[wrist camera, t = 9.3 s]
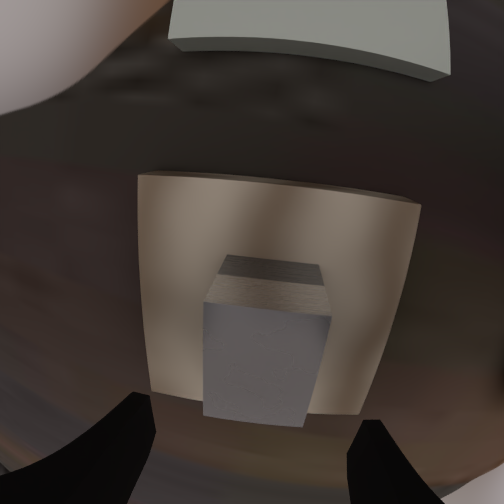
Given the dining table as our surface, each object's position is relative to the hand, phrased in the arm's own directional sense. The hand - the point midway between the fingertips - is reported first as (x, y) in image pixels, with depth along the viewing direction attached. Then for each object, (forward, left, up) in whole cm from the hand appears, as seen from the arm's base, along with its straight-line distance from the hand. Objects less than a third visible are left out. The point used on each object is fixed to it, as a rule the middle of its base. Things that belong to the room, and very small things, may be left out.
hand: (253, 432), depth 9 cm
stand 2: (0, 0, -10) cm, 10 cm away
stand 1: (-1, -21, -10) cm, 23 cm away
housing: (0, 0, -8) cm, 8 cm away
